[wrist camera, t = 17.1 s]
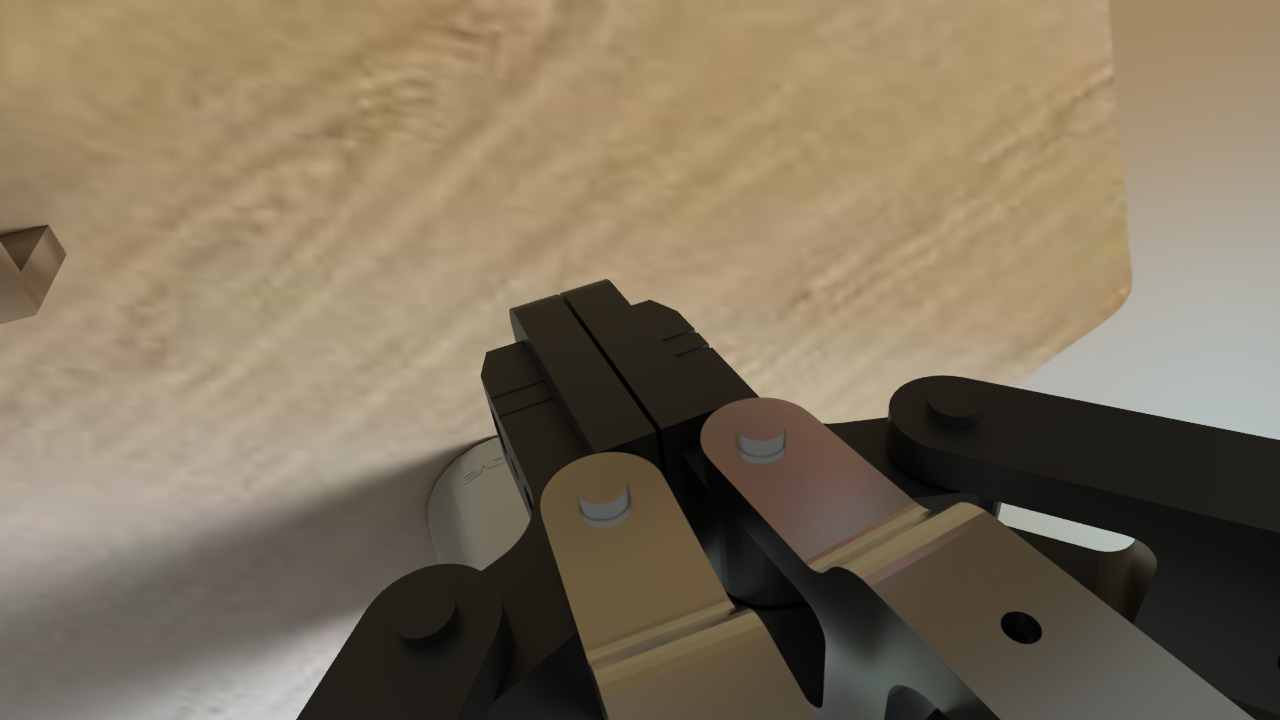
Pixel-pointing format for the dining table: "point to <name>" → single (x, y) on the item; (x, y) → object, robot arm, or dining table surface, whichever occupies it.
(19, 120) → the dining table surface
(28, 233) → the low shelf
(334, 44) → the dining table surface
